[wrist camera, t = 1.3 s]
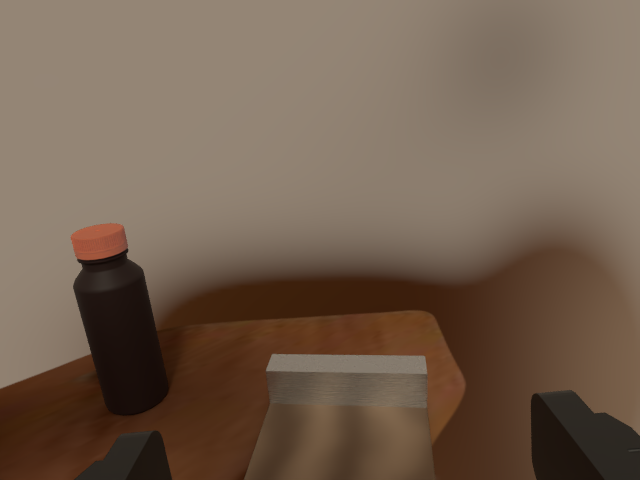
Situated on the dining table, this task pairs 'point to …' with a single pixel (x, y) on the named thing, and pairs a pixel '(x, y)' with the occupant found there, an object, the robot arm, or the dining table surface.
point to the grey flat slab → (342, 444)
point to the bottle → (118, 321)
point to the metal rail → (348, 380)
